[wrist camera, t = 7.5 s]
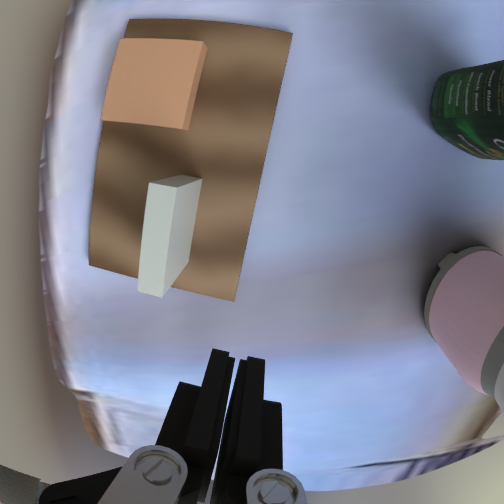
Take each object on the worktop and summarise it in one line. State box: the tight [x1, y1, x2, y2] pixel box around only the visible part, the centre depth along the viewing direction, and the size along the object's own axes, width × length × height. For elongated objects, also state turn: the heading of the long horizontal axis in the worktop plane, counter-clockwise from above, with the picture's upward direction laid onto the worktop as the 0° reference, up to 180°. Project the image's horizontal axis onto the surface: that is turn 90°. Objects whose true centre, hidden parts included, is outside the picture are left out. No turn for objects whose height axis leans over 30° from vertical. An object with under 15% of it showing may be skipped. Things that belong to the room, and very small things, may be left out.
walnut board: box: [89, 19, 293, 302], centre depth 28 cm, size 26×16×1 cm, turn 168°
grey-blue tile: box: [137, 175, 203, 297], centre depth 25 cm, size 8×2×8 cm, turn 168°
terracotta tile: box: [100, 38, 208, 131], centre depth 24 cm, size 8×2×8 cm
